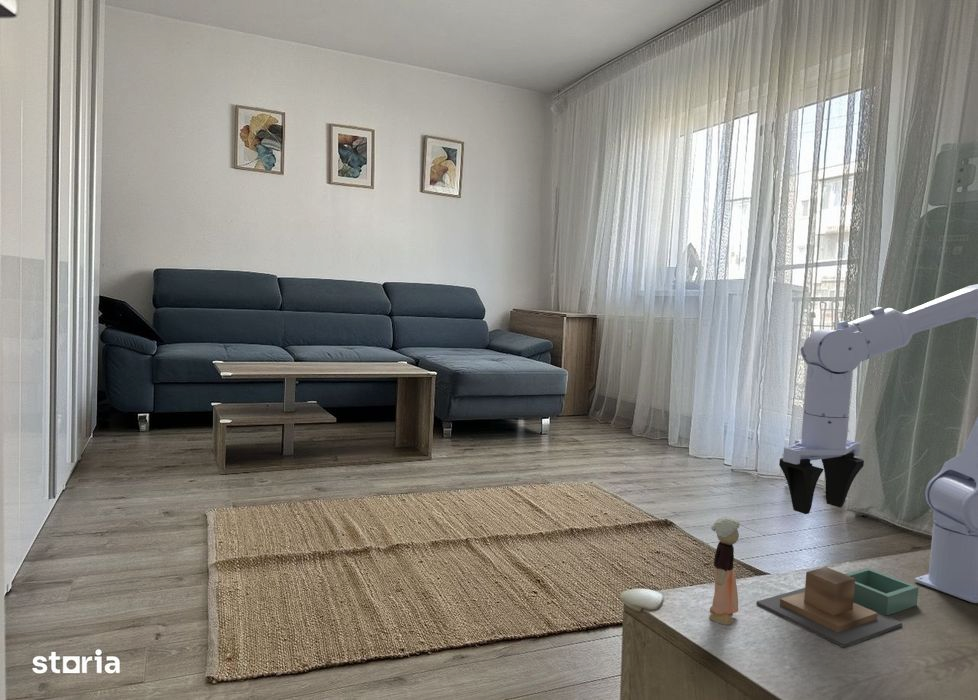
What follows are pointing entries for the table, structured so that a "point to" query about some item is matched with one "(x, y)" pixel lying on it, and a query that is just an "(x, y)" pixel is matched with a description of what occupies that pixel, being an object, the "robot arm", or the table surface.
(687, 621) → the table surface
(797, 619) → the mat
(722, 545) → the grandmother figurine
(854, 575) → the green storage tray
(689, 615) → the table surface
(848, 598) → the lid
